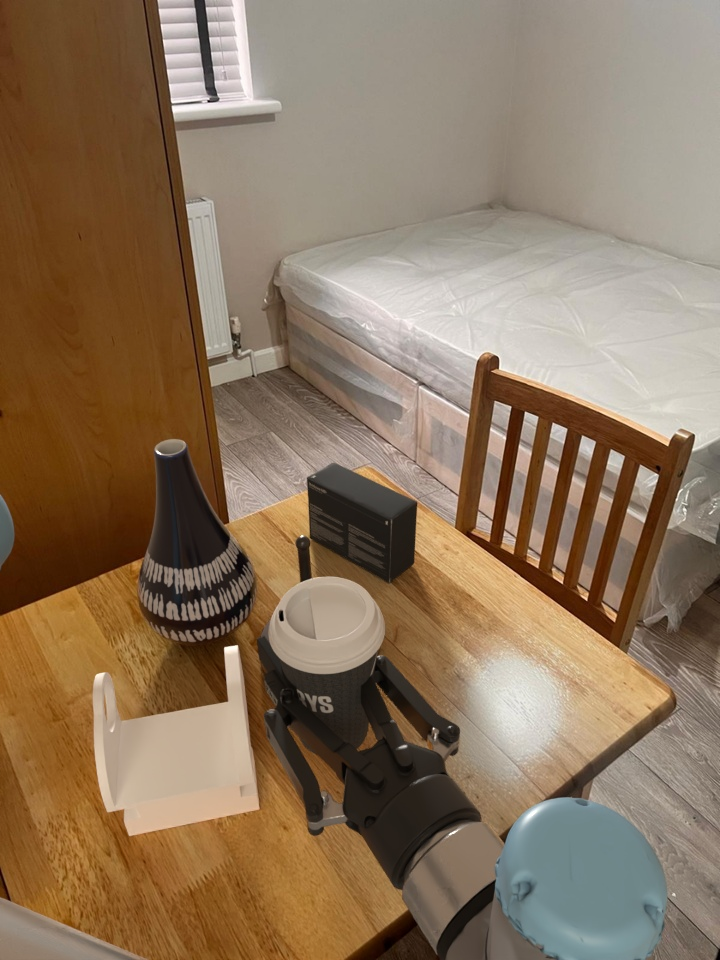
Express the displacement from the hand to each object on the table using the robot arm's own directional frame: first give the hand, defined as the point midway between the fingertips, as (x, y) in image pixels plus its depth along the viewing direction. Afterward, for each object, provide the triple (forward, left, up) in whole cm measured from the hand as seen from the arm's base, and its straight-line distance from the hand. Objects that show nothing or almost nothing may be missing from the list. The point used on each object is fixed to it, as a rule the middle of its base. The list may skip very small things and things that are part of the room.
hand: (286, 637), depth 65 cm
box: (-15, +40, -26) cm, 50 cm away
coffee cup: (+5, -1, -8) cm, 10 cm away
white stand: (-12, -5, -26) cm, 29 cm away
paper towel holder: (-10, +19, -26) cm, 34 cm away
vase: (-27, +16, -26) cm, 41 cm away
